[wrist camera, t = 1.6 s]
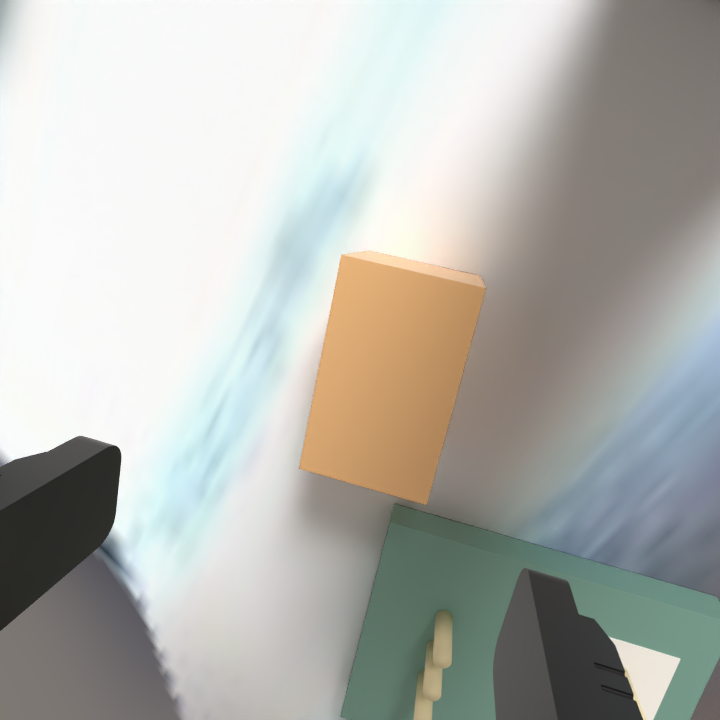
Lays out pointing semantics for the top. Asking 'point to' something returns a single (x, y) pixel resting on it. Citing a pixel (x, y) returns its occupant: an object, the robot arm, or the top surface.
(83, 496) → the robot arm
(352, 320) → the block
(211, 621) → the top surface
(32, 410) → the top surface
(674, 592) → the header board
